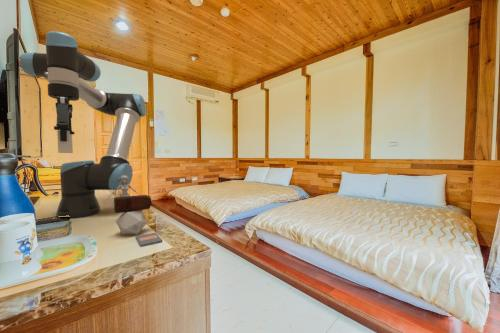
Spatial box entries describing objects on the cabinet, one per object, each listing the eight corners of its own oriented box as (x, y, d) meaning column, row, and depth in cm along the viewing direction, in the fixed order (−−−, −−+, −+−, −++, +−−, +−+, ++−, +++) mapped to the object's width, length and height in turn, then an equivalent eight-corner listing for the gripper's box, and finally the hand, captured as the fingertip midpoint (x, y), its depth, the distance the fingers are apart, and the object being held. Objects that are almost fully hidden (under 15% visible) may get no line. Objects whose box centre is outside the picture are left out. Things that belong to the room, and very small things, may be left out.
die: (125, 241, 68) (146, 214, 71) (104, 226, 69) (125, 200, 72) (138, 241, 76) (156, 217, 78) (119, 227, 77) (137, 204, 80)
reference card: (135, 238, 69) (135, 236, 69) (155, 234, 73) (155, 232, 73) (140, 246, 63) (140, 244, 63) (162, 242, 66) (162, 239, 66)
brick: (115, 213, 69) (115, 199, 69) (114, 211, 72) (113, 197, 72) (151, 209, 76) (151, 195, 75) (148, 206, 79) (148, 193, 79)
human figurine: (107, 224, 83) (106, 176, 82) (107, 221, 86) (106, 175, 85) (142, 219, 89) (141, 175, 88) (141, 217, 92) (140, 174, 92)
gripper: (52, 92, 77) (55, 152, 78) (40, 71, 57) (44, 152, 58) (79, 96, 82) (81, 153, 83) (77, 77, 62) (79, 152, 63)
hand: (66, 153), depth 70 cm, fingers open, 13 cm apart
